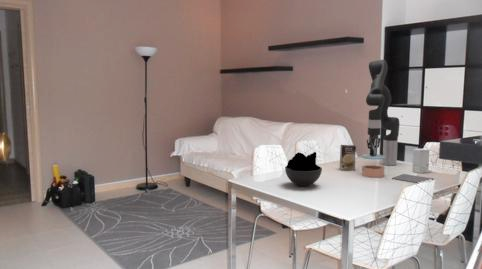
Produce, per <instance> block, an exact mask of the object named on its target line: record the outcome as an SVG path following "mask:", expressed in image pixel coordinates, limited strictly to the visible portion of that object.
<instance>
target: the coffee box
mask: <svg viewBox="0 0 482 269" xmlns="http://www.w3.org/2000/svg"><path fill="white" fill-rule="evenodd" d="M339 149H340V151H339V153H340V154H339V170H340V171H353V172H355V171H356V151H357V145H354V144H340V148H339Z"/></svg>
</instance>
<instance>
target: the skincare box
mask: <svg viewBox="0 0 482 269" xmlns="http://www.w3.org/2000/svg"><path fill="white" fill-rule="evenodd" d="M412 150H413V151H412V166H411V167H412V168H411V169H412V172H414V173H417V174H423V173H429V165H430V163H429V162H430V149H429V148H413V149H412Z"/></svg>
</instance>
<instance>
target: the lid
mask: <svg viewBox="0 0 482 269" xmlns="http://www.w3.org/2000/svg"><path fill="white" fill-rule="evenodd" d="M360 158H362V159H366V160H367V159H368V160H383V159H385V156H384V155H383V154H377V155H376V148H375V147H374V155H373V156H371V155H370V153H363V154H361V156H360Z"/></svg>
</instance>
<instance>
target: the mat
mask: <svg viewBox="0 0 482 269" xmlns="http://www.w3.org/2000/svg"><path fill="white" fill-rule="evenodd" d="M394 179H395V180H396V181H401V182H407V183H413V184H418V183H417V182H421V181H425V180H429V179H434V178H433V177H426V176H419V175H413V174H408V173H402V174H399V175H397V176H394V177H391V180H394Z"/></svg>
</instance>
